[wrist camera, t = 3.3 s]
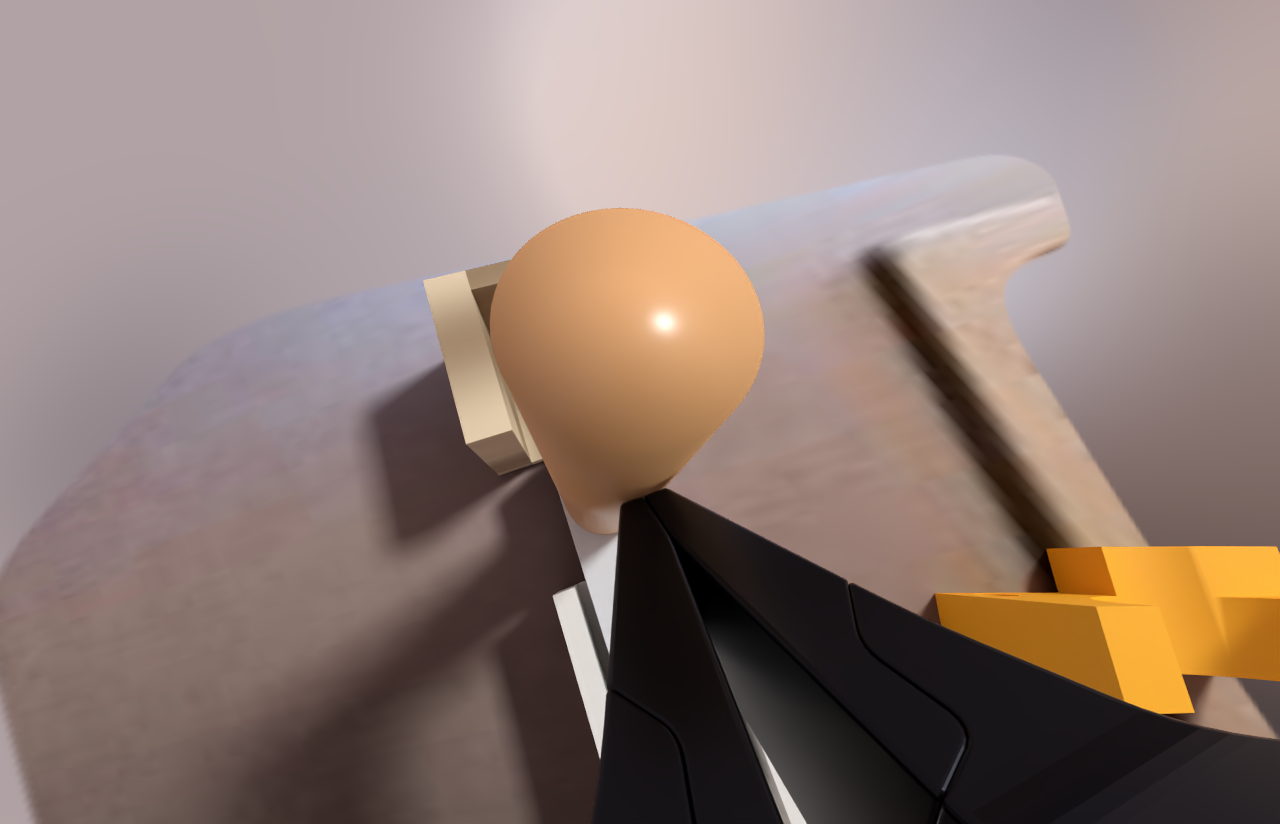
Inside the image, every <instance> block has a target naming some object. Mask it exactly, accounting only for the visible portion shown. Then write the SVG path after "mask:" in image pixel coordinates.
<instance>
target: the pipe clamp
mask: <svg viewBox="0 0 1280 824" xmlns="http://www.w3.org/2000/svg"><path fill="white" fill-rule="evenodd" d="M1046 550H1047V554H1048V557H1049V561H1050V565H1051V568H1052V572H1053V575H1054V579H1055V582H1056V586H1057V590H1058V592H1055V593H935V596H936V601H937V606H938V612H939V617H940V622H941V625H942V626H944V627H946V628H949V629H951V630H953V631H956V632H958V633H960V634H963V635H965V636H967V637H969V638H972V639H974V640H976V641H979V642H981V643H984V644H986V645H989V646H991V647H993V648H996V649H998V650H1001V651H1003V652H1006V653H1008V654H1010V655H1013V656H1015V657H1018V658H1020V659H1022V660H1025V661H1027V662H1030V663H1032V664H1035V665H1037V666H1039V667H1042V668H1044V669H1047V670H1049V671H1052V672H1054V673H1056V674H1059V675H1061V676H1064V677H1066V678H1068V679H1071V680H1073V681H1076V682H1078V683H1081V684H1083V685H1085V686H1088V687H1090V688H1093V689H1095V690H1098V691H1100V692H1102V693H1105V694H1107V695H1110V696H1112V697H1115V698H1117V699H1120V700H1122V701H1125V702H1128V703H1130V704H1133V705H1135V706H1138V707H1141V708H1143V709H1147V710H1150V711H1153V712H1156V713H1159V714H1171V713H1195V712H1194V709H1193V706H1192V703H1191V700H1190V697H1189V694H1188V691H1187V688H1186V685H1185V683H1184V680H1183V677H1182V674H1188V675H1209V676H1225V677H1238V678H1250V679H1262V680H1272V681H1280V554H1279V551H1278V549H1277V547H1238V546H1237V547H1236V546H1234V547H1231V546H1230V547H1229V546H1225V547H1224V546H1220V547H1219V546H1183V547H1182V546H1181V547H1084V548H1056V549H1046Z"/></svg>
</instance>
